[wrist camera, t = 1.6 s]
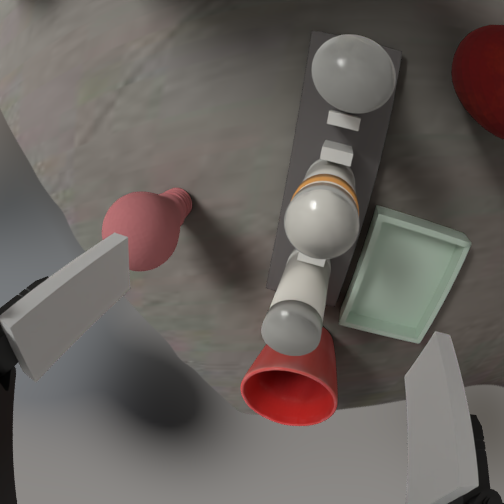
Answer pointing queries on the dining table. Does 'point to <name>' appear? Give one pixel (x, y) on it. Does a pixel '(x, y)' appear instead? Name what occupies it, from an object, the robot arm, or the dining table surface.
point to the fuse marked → (324, 211)
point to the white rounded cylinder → (353, 73)
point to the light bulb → (148, 225)
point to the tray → (402, 275)
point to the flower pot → (293, 385)
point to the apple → (482, 76)
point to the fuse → (297, 308)
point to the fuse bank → (335, 150)
